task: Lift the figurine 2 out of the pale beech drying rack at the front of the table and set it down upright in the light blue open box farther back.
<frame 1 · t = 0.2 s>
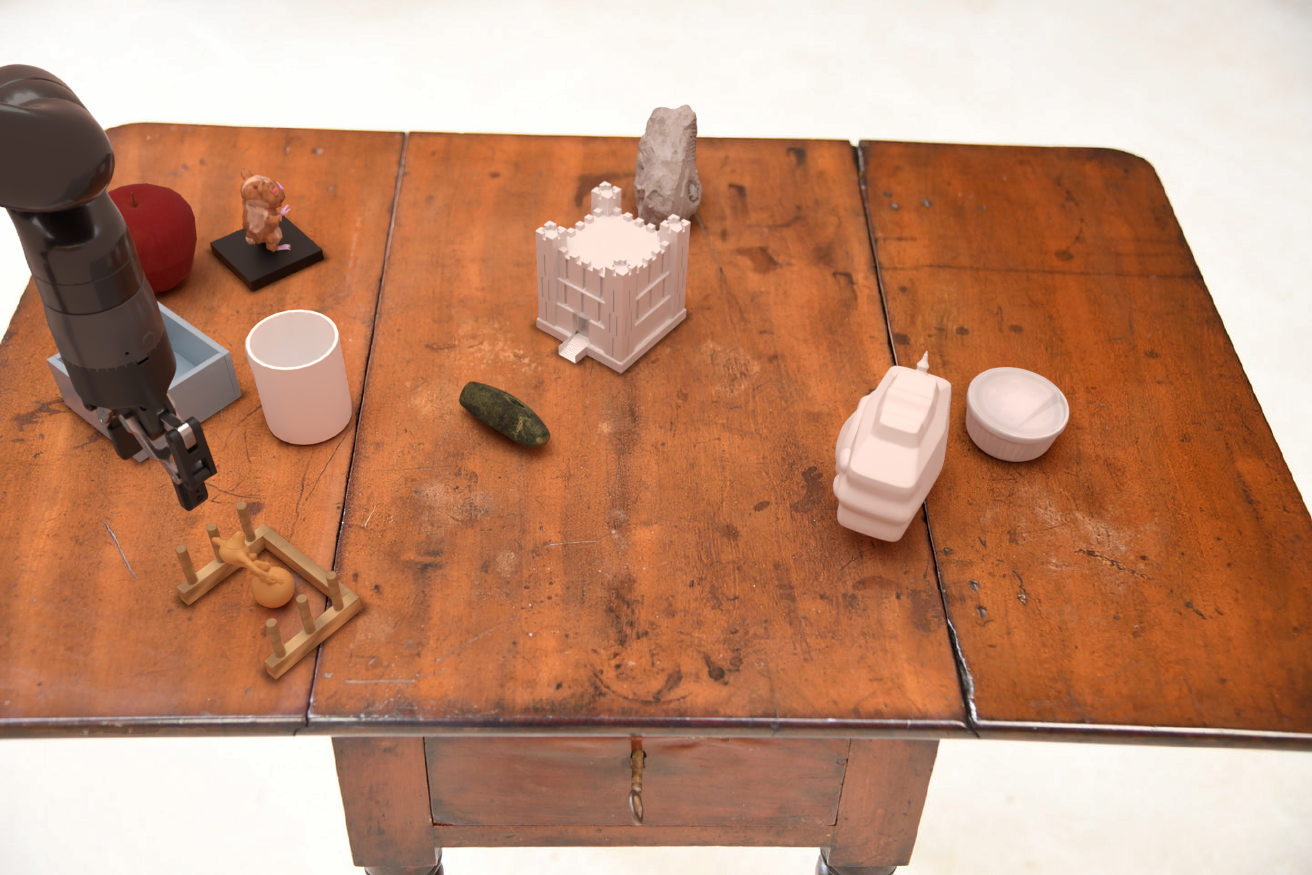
hand: (163, 477, 105), 22 cm above the table, tool pointing down, fingers open, 8 cm apart
decorative stone: (504, 433, 141), on the table
figurine 2: (269, 607, 123), on the table
ramekin: (1006, 435, 143), on the table
castle model: (606, 327, 154), on the table
drying rack: (269, 606, 123), on the table
light blue open box: (154, 400, 142), on the table
mug: (300, 416, 141), on the table
apple: (159, 282, 156), on the table
camera: (877, 500, 136), on the table
fossil: (666, 213, 170), on the table
figurine: (268, 256, 160), on the table
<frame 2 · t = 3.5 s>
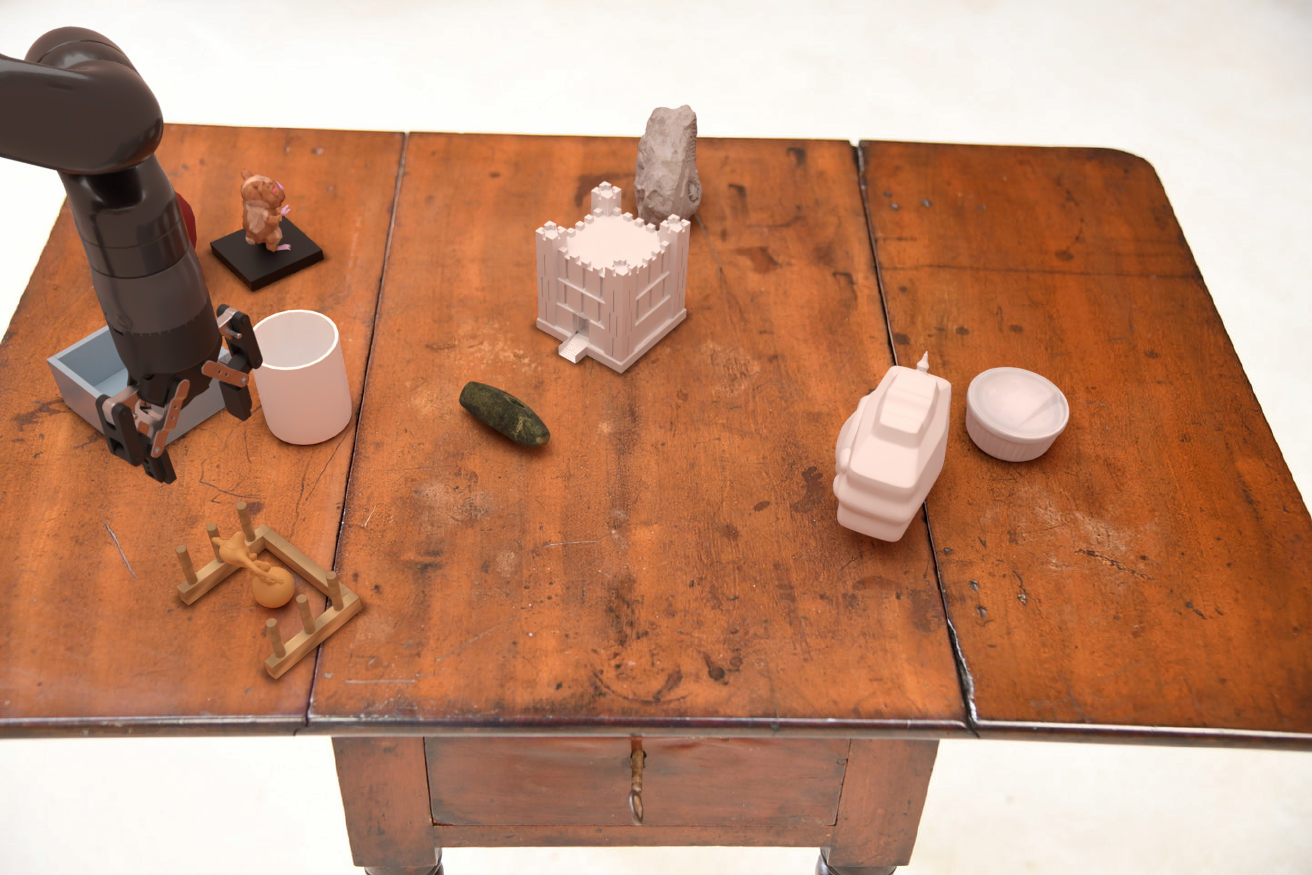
hand: (203, 446, 105), 24 cm above the table, tool pointing down, fingers open, 8 cm apart
nothing on the table moved.
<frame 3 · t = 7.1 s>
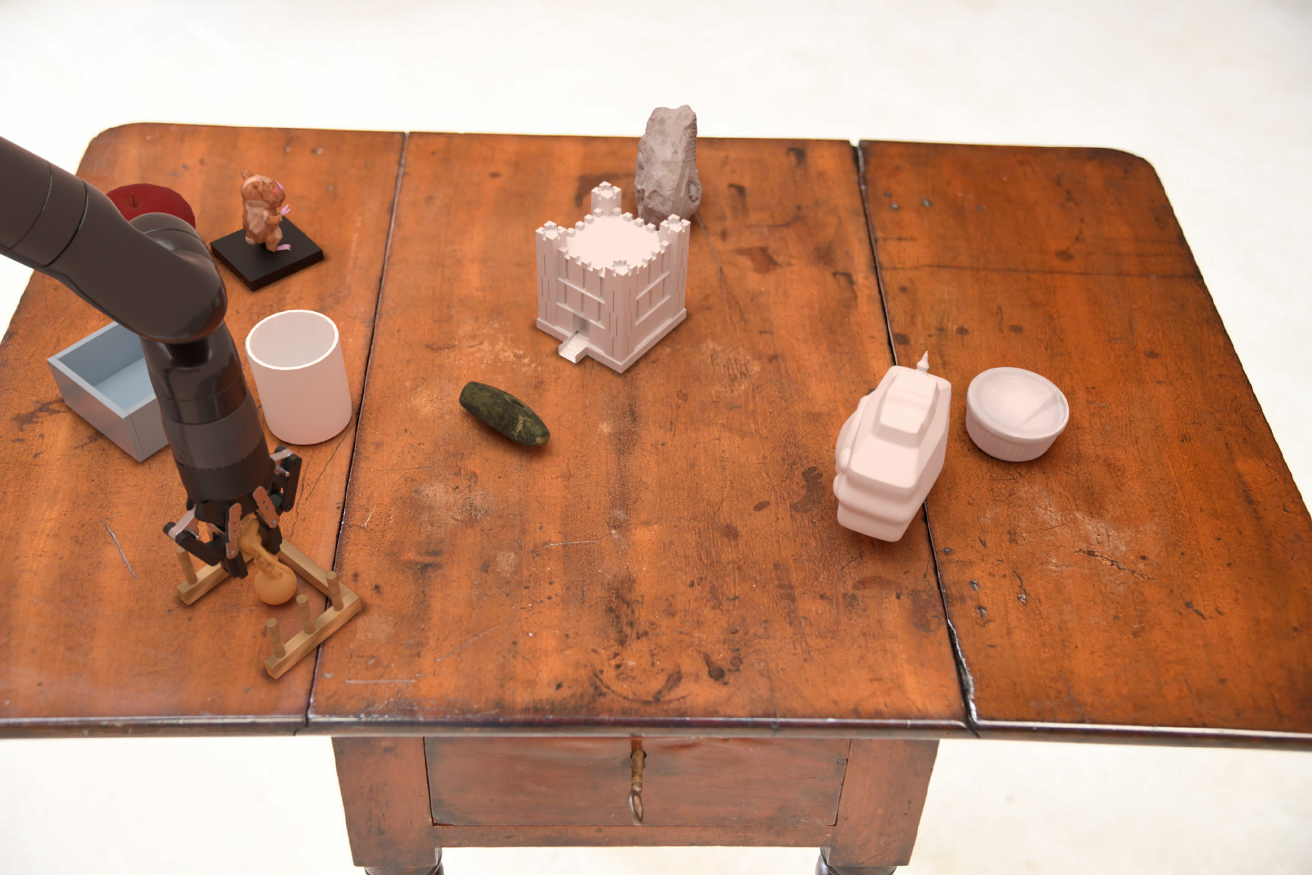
hand: (254, 560, 118), 7 cm above the table, tool pointing down, fingers closed on figurine 2, 3 cm apart
figurine 2: (268, 604, 123), on the table, touching gripper
everything else where it was.
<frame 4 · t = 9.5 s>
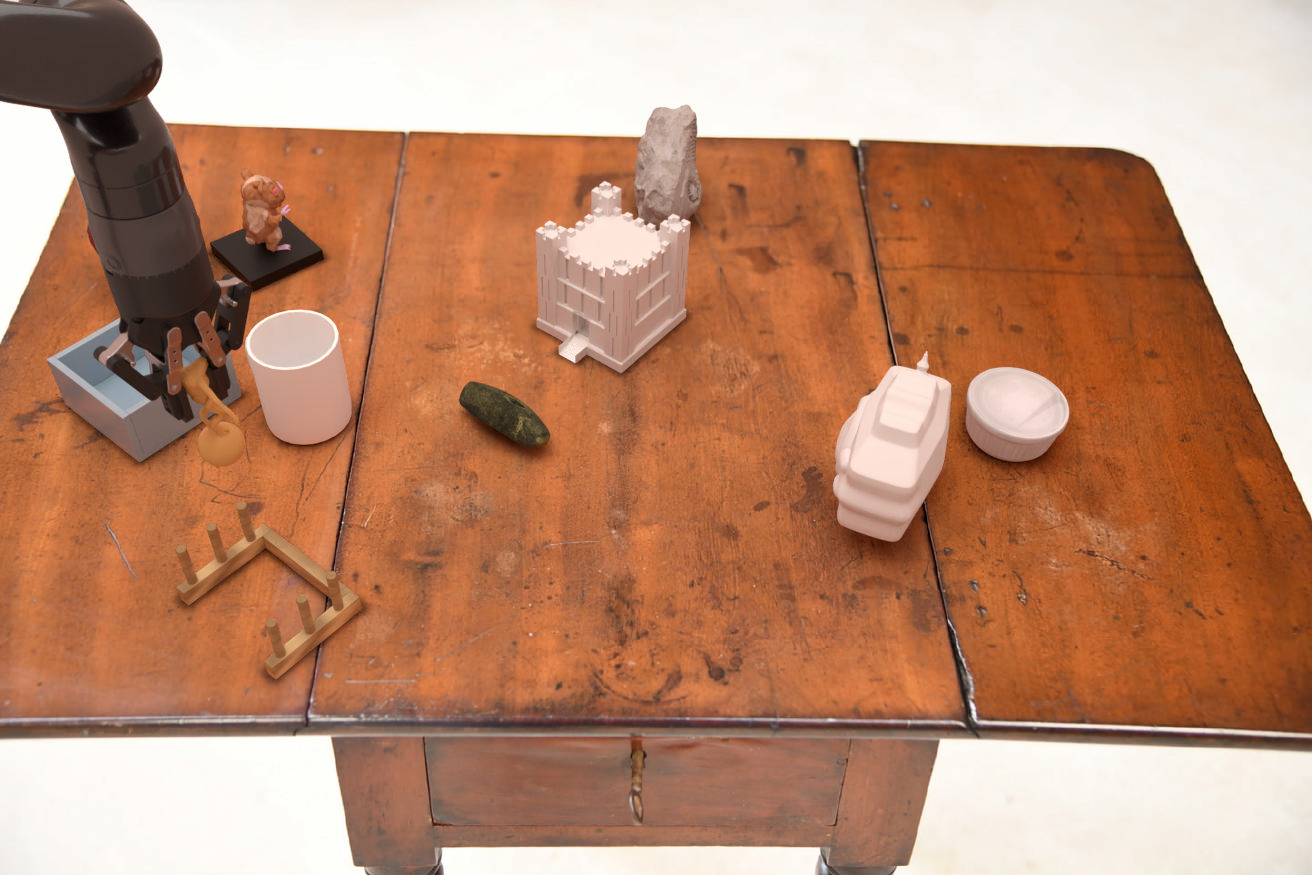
hand: (200, 404, 107), 25 cm above the table, tool pointing down, fingers closed on figurine 2, 3 cm apart
figurine 2: (212, 468, 112), point 17 cm above the table, touching gripper
everything else where it was.
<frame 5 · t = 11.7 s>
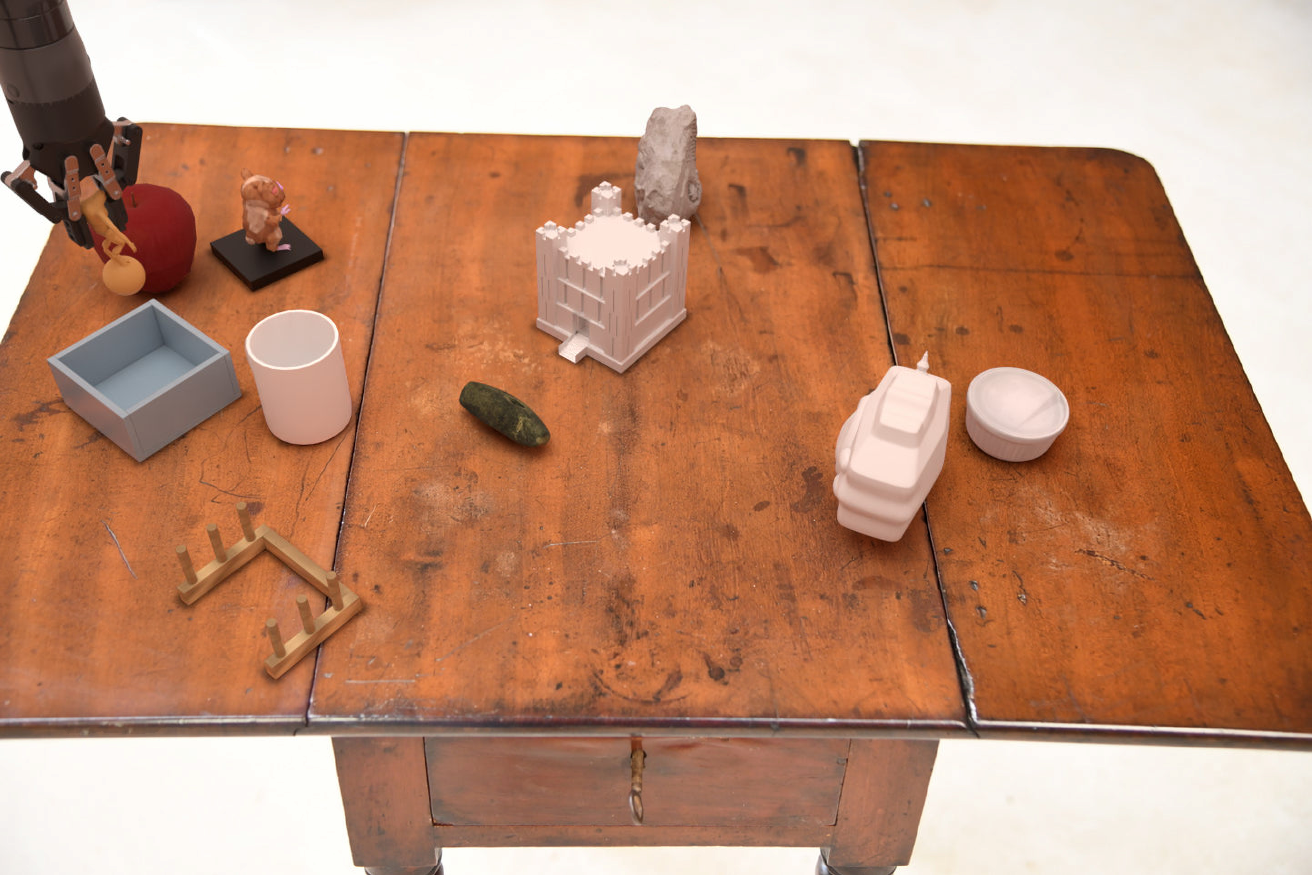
hand: (101, 236, 122), 25 cm above the table, tool pointing down, fingers closed on figurine 2, 3 cm apart
figurine 2: (116, 297, 127), point 17 cm above the table, touching gripper
everything else where it was.
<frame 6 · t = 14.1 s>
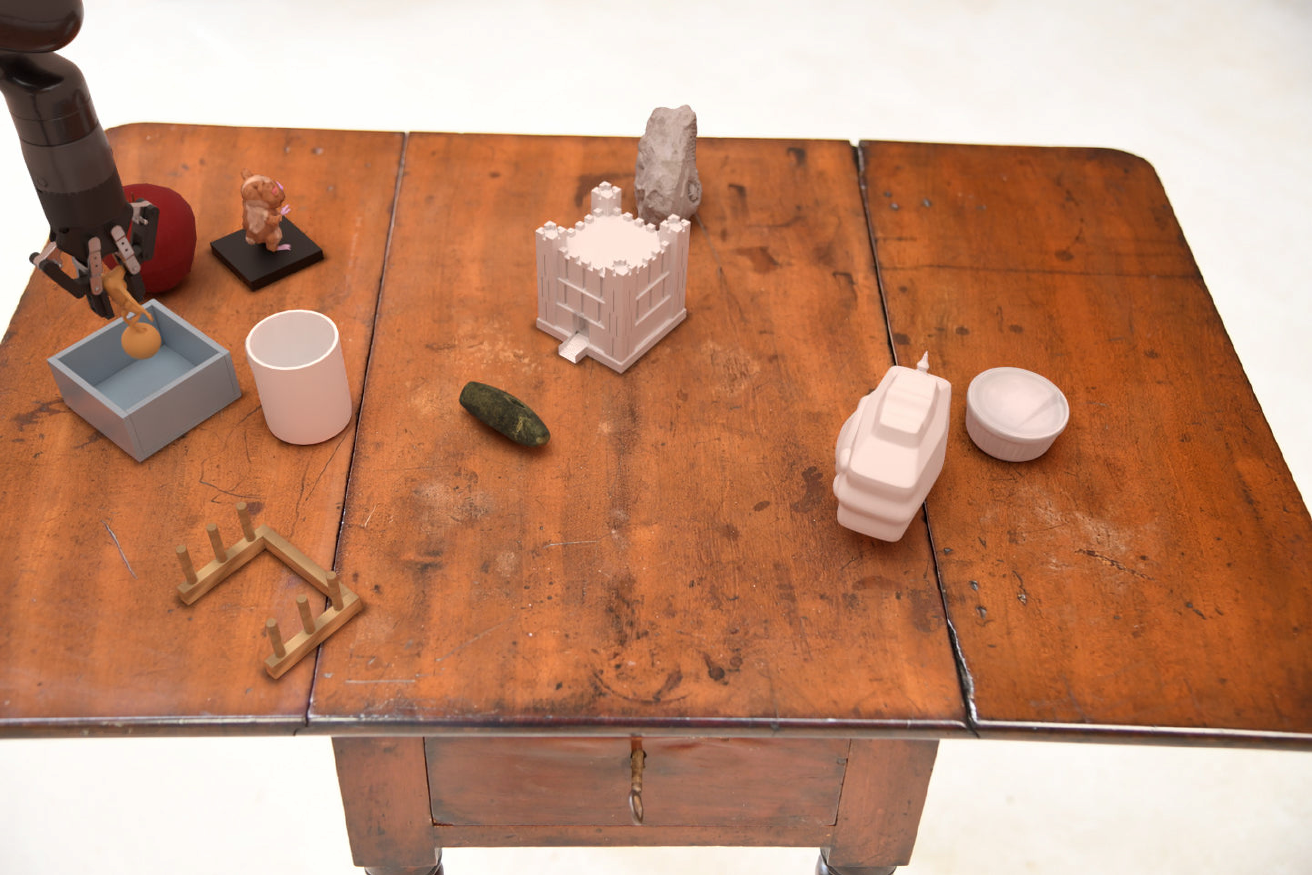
hand: (120, 306, 132), 14 cm above the table, tool pointing down, fingers closed on figurine 2, 3 cm apart
figurine 2: (134, 361, 137), point 6 cm above the table, touching gripper
everything else where it was.
when the fingers open (8 cm above the table, at t = 15.7 s): figurine 2 stays where it is, resting on light blue open box.
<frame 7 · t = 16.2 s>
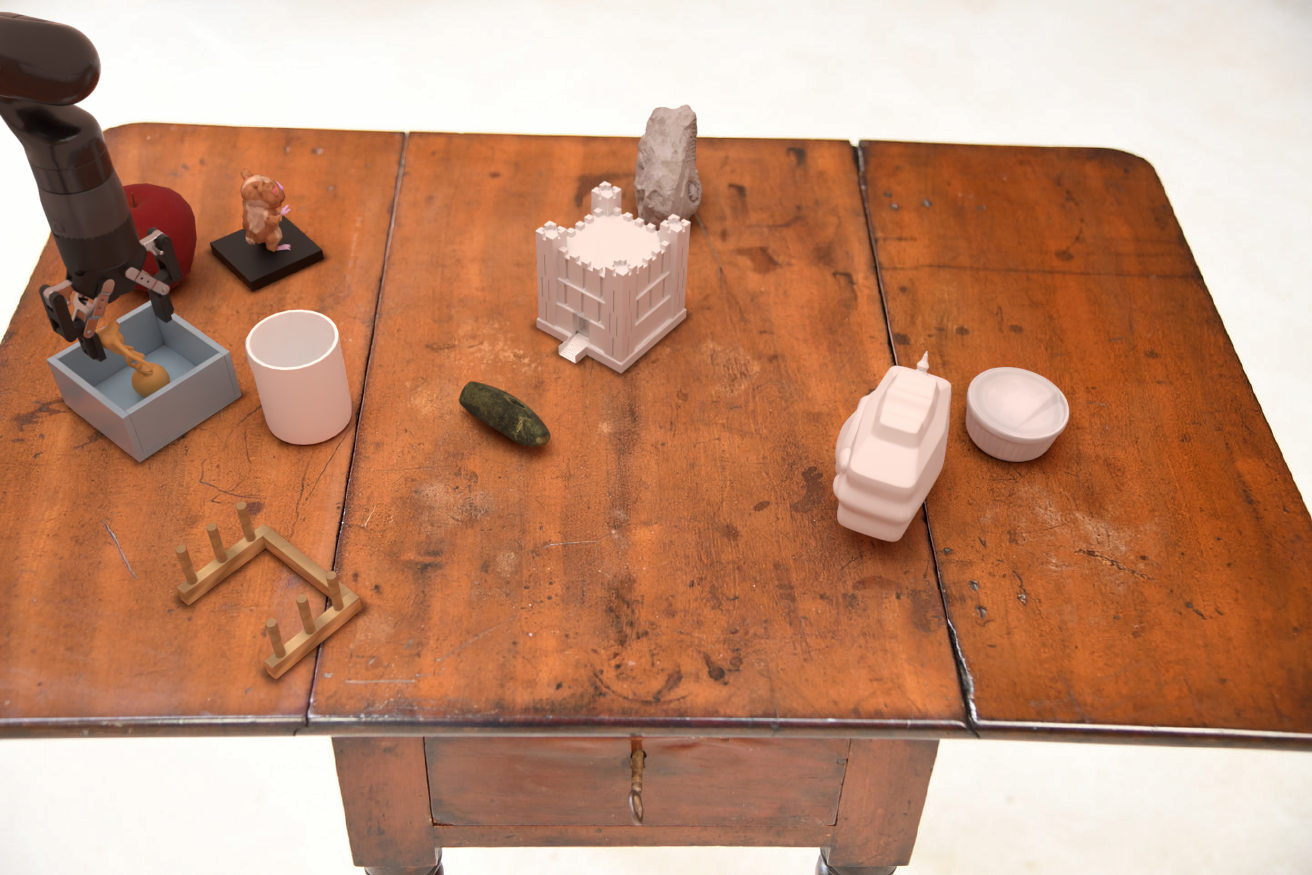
hand: (131, 337, 135), 9 cm above the table, tool pointing down, fingers open, 7 cm apart
figurine 2: (148, 399, 141), point 1 cm above the table, touching light blue open box
everything else where it was.
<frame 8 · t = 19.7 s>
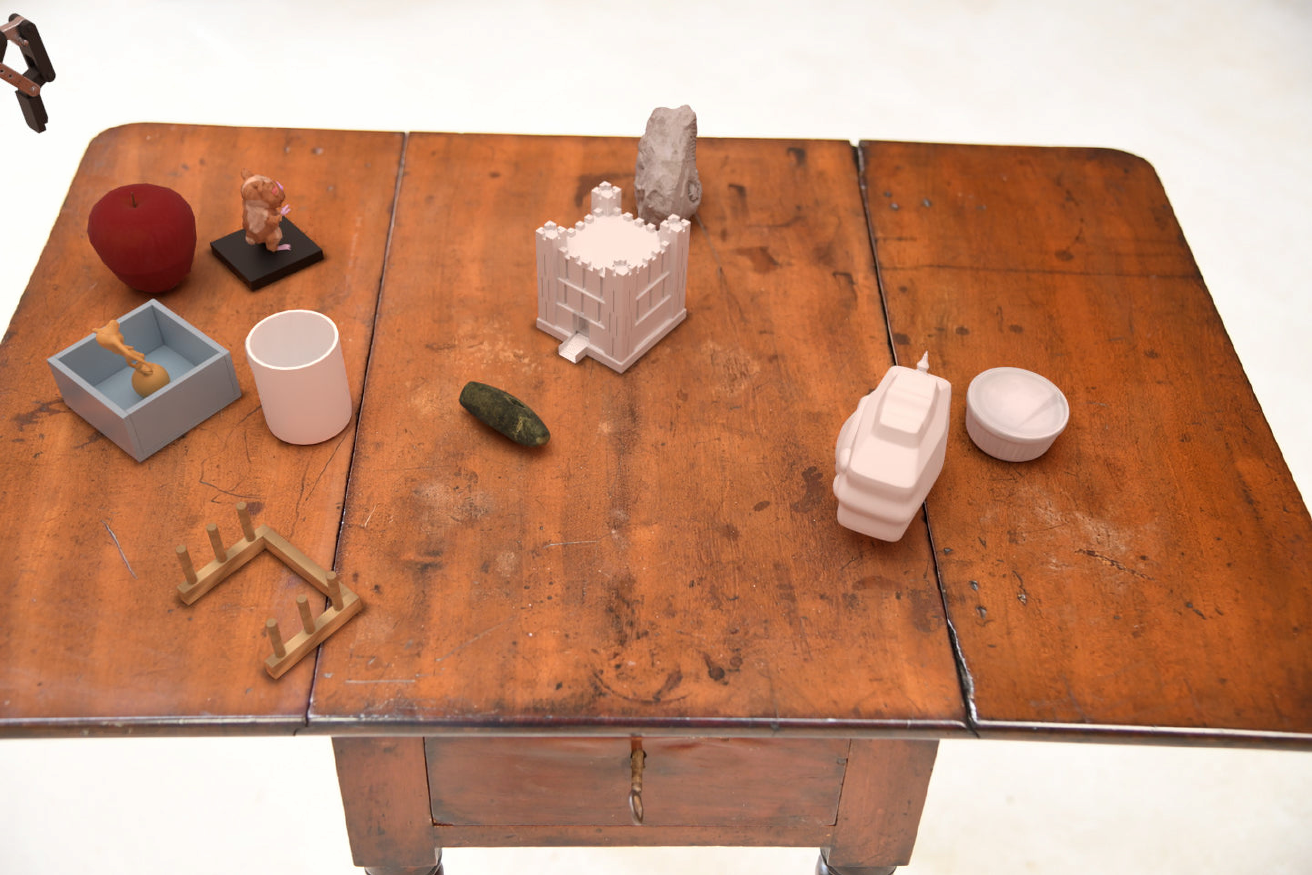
nothing on the table moved.
at the end: figurine 2 inside the target area in the light blue open box (0.7 cm from its centre), point 0.6 cm above the light blue open box's base; figurine 2 tilted 0°; the gripper is holding nothing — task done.
